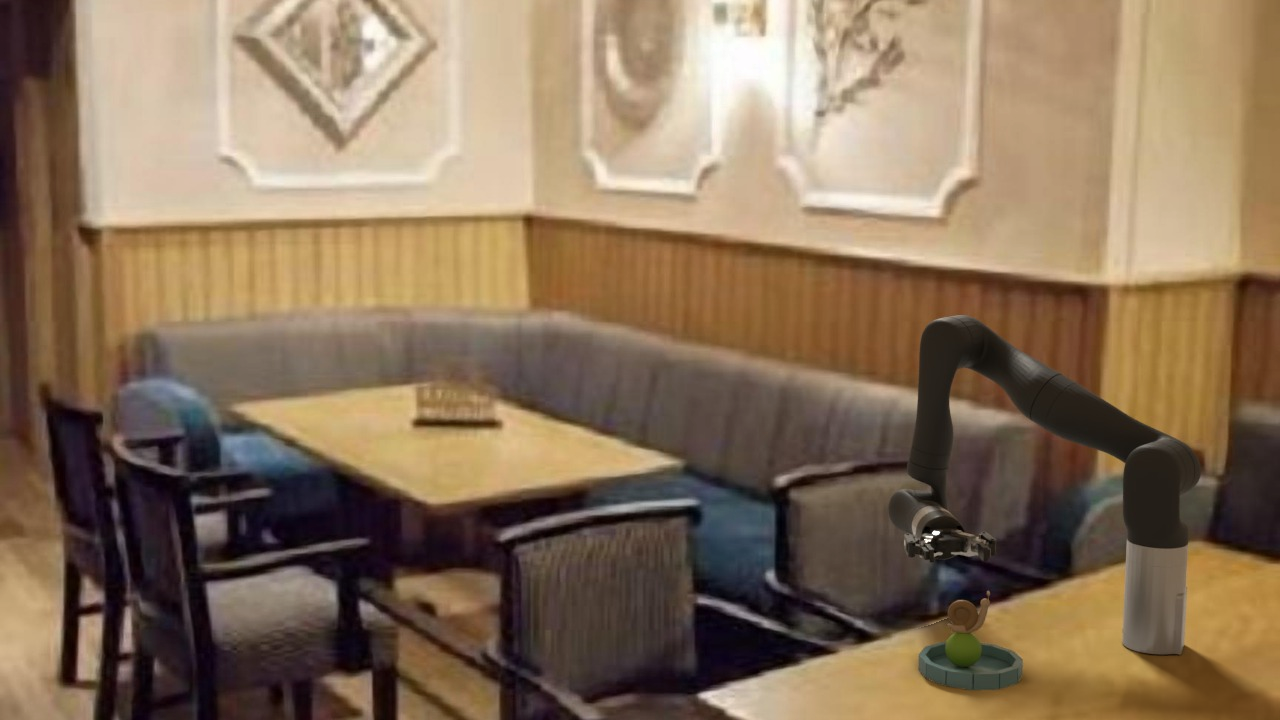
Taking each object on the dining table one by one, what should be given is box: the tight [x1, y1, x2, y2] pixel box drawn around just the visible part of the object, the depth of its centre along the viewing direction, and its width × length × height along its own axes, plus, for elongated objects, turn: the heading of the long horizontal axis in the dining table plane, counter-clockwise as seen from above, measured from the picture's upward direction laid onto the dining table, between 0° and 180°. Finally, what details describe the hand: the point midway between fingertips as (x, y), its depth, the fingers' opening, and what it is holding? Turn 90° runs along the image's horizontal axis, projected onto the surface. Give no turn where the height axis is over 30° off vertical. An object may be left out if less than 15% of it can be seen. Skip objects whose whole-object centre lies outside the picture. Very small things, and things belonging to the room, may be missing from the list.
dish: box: [918, 640, 1024, 691], centre depth 231 cm, size 15×15×2 cm
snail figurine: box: [945, 590, 991, 667], centre depth 230 cm, size 5×6×12 cm
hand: (958, 555), depth 240 cm, fingers open, 8 cm apart
